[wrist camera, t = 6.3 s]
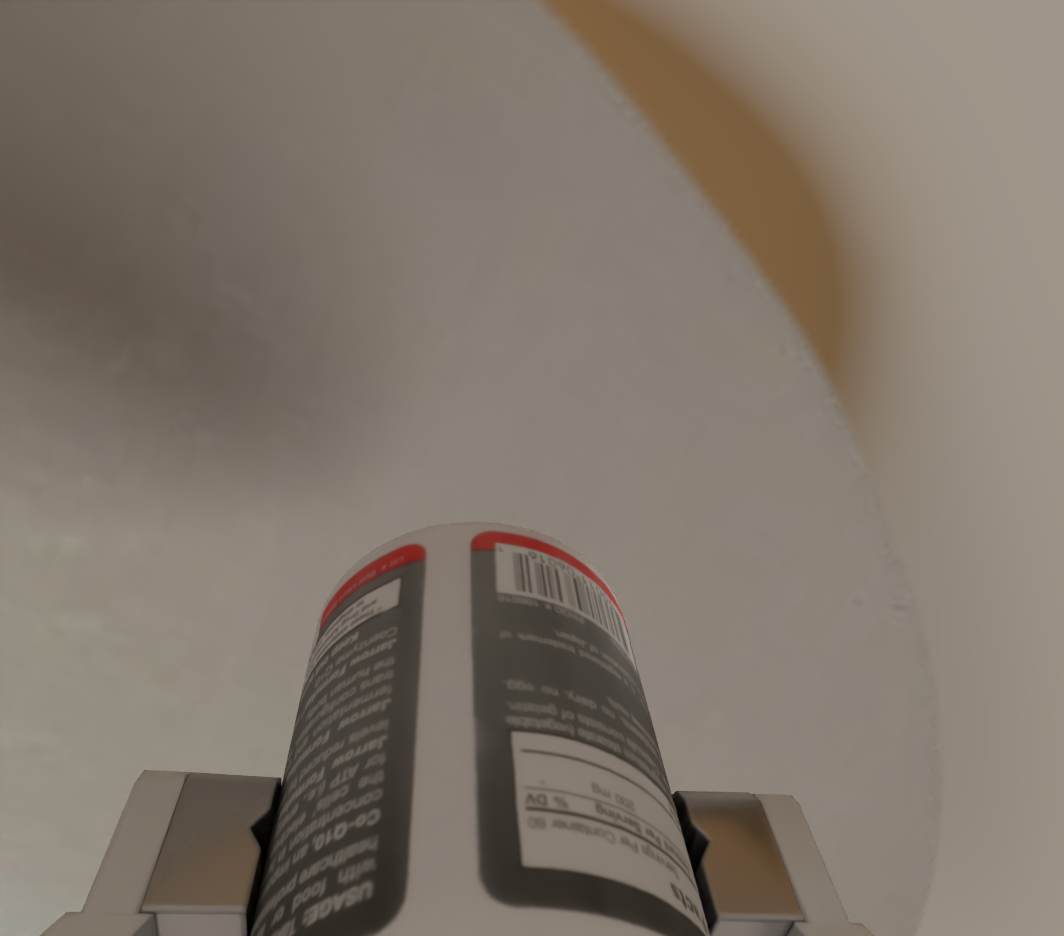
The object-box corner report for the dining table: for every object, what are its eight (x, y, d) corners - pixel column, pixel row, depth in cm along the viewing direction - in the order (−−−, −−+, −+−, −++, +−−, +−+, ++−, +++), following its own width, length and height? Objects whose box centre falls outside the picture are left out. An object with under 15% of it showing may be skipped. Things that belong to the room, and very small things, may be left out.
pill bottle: (359, 760, 14) (251, 1601, 7) (278, 538, 11) (-35, 1489, 4) (634, 718, 14) (825, 1512, 7) (611, 487, 11) (875, 1349, 4)
